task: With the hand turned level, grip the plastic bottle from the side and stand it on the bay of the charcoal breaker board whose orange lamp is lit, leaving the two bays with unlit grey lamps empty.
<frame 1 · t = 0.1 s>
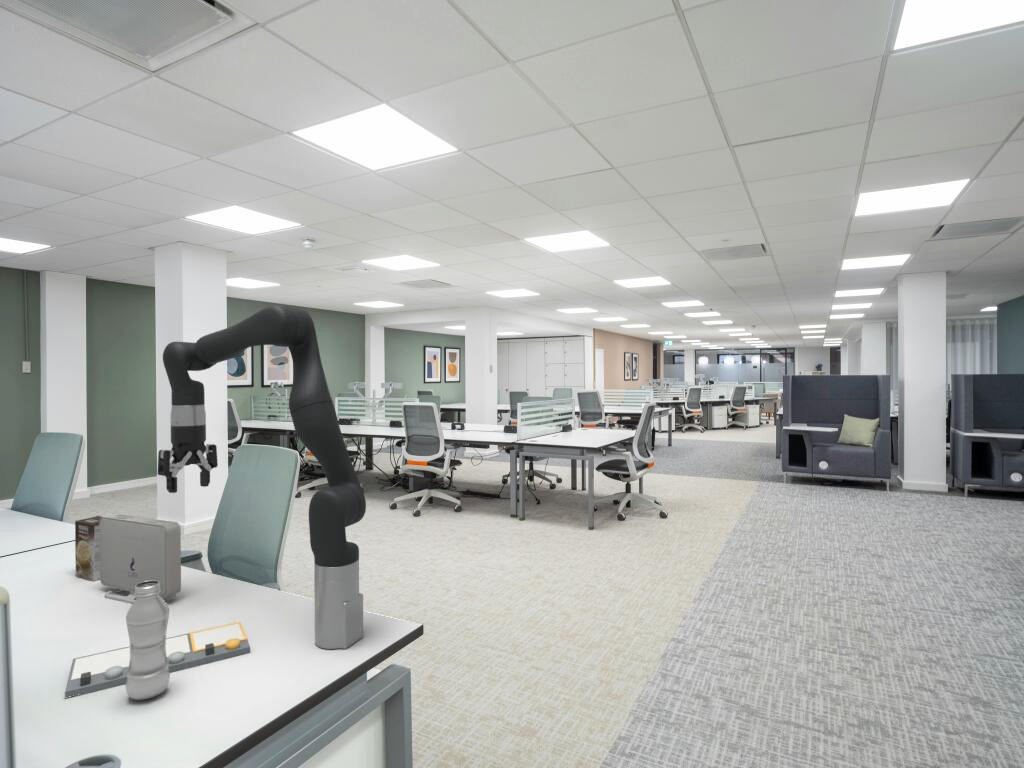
hand: (189, 489, 138), 29 cm above the table, tool pointing down, fingers open, 8 cm apart
coffee box: (96, 576, 161), on the table
network device: (140, 596, 146), on the table
plastic bottle: (148, 696, 101), on the table
breaker board: (163, 658, 113), on the table
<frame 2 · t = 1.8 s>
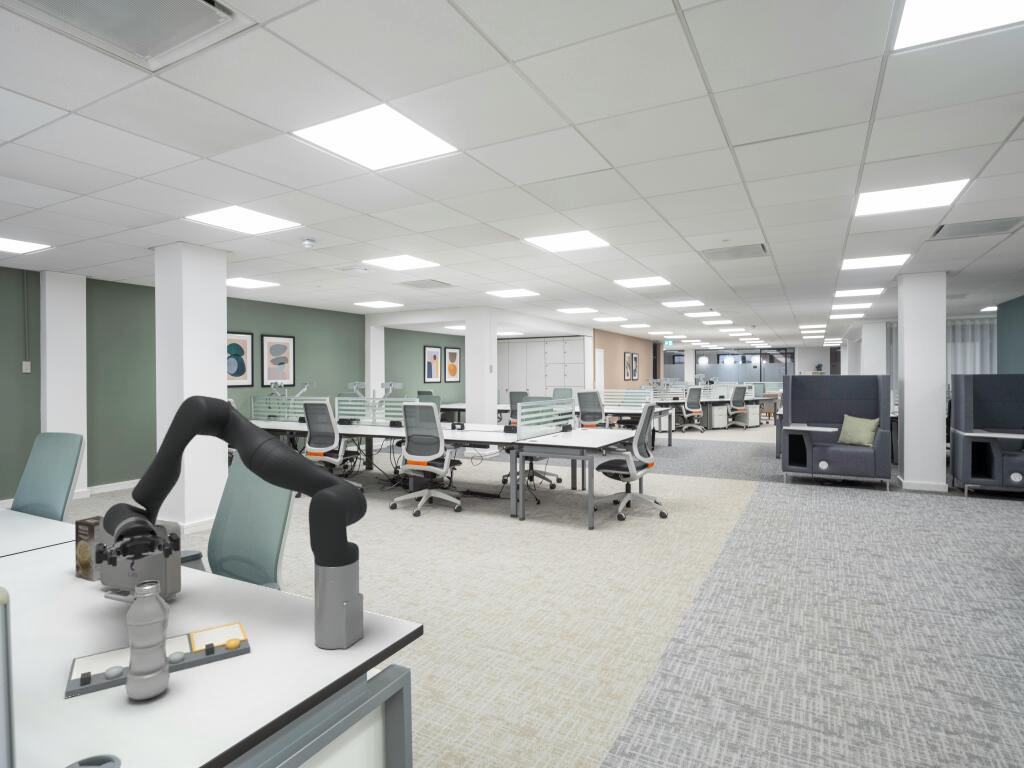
hand: (141, 556, 109), 22 cm above the table, tool horizontal, fingers open, 8 cm apart
nothing on the table moved.
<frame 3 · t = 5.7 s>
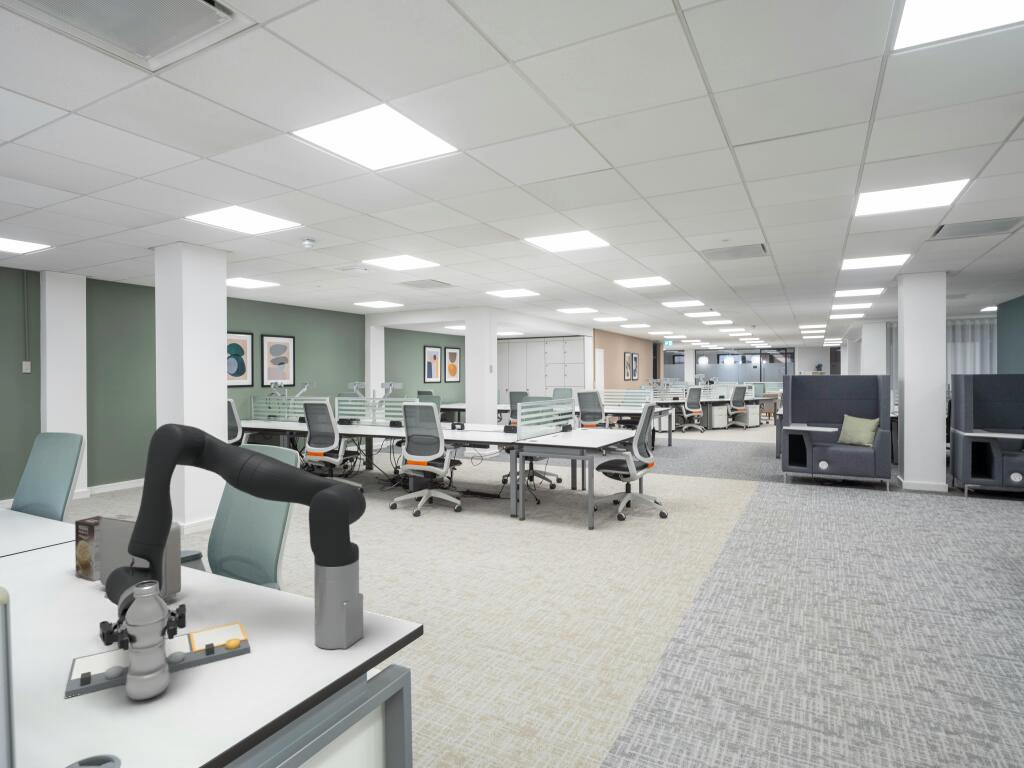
hand: (149, 638, 98), 11 cm above the table, tool horizontal, fingers closed on plastic bottle, 6 cm apart
plastic bottle: (148, 695, 101), on the table, touching gripper
everything else where it was.
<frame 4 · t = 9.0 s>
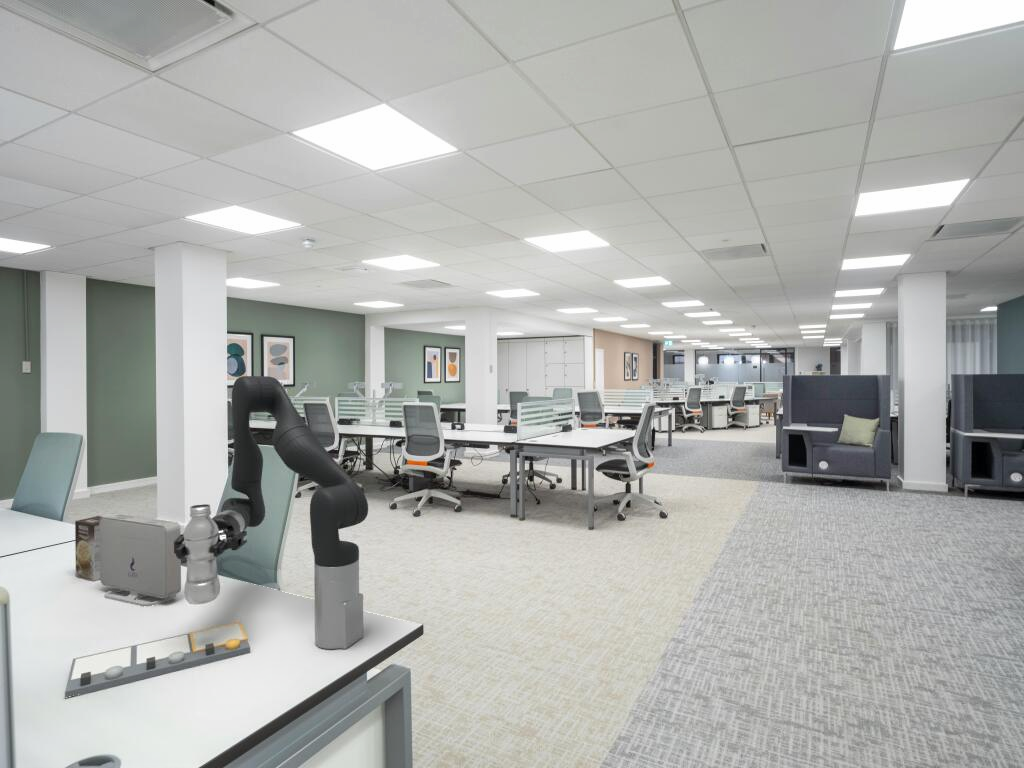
hand: (197, 553, 114), 21 cm above the table, tool horizontal, fingers closed on plastic bottle, 6 cm apart
plastic bottle: (202, 602, 117), point 10 cm above the table, touching gripper
everything else where it was.
when the fingers open (13 cm above the table, at t = 11.9 s): plastic bottle drops 1 cm, resting on breaker board.
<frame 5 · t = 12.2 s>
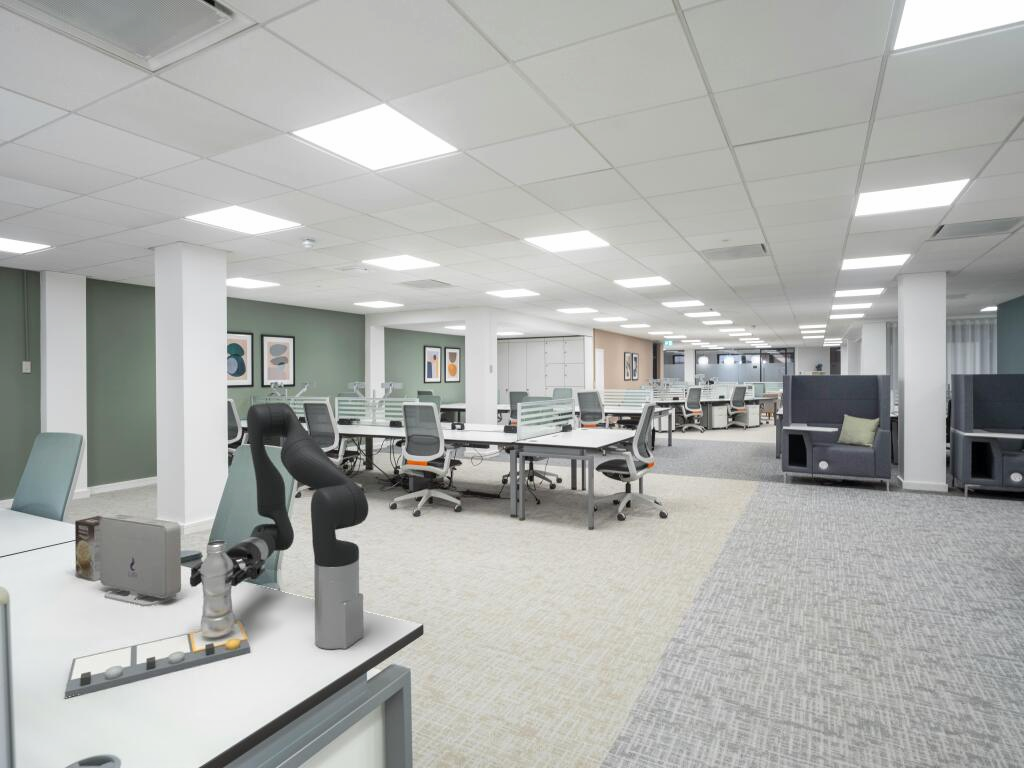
hand: (212, 581, 118), 14 cm above the table, tool horizontal, fingers open, 8 cm apart
plastic bottle: (218, 635, 121), point 1 cm above the table, touching breaker board
everything else where it was.
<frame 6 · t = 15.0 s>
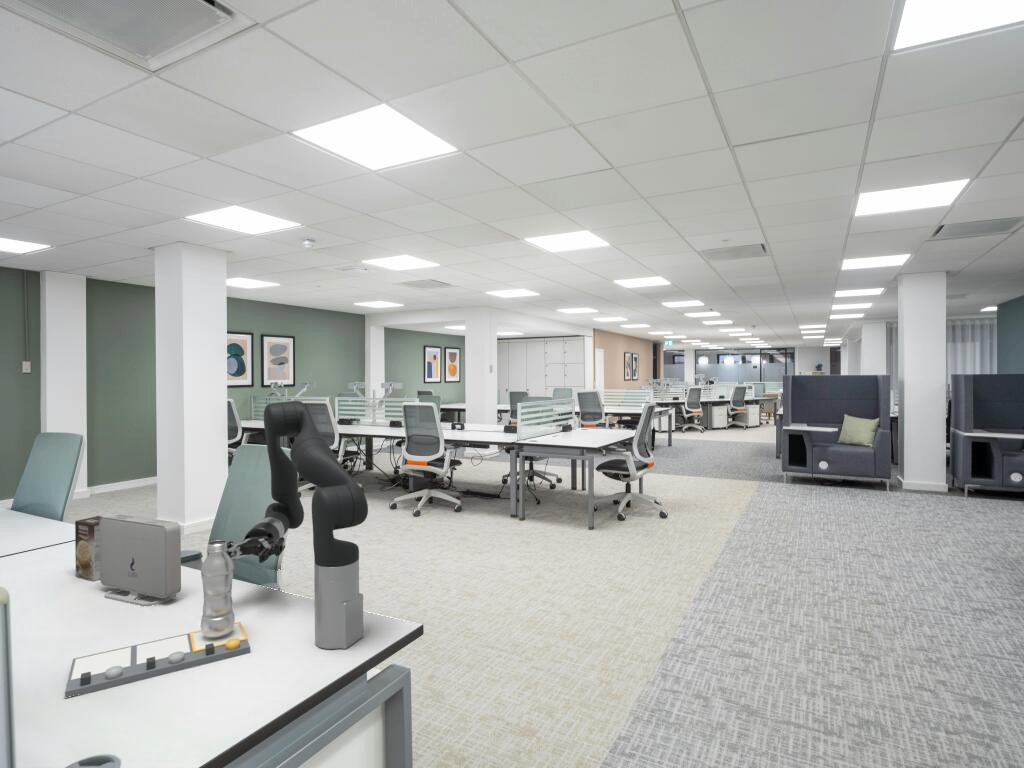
hand: (241, 560, 131), 14 cm above the table, tool horizontal, fingers open, 8 cm apart
nothing on the table moved.
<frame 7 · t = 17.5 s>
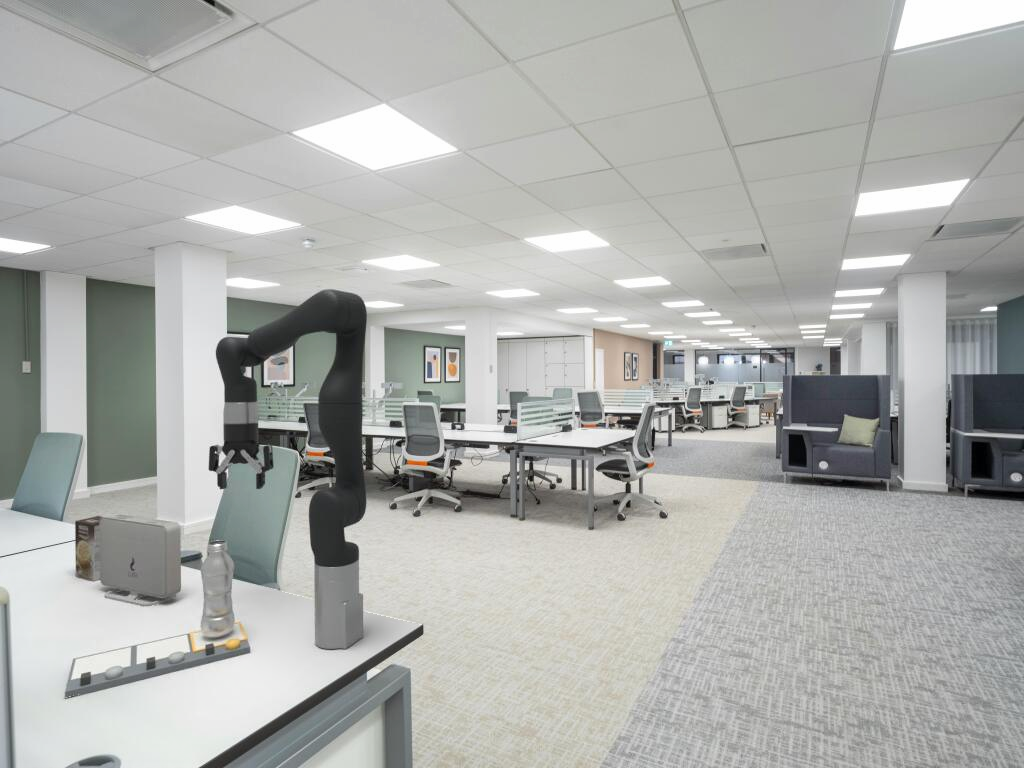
hand: (241, 488, 134), 30 cm above the table, tool pointing down, fingers open, 8 cm apart
nothing on the table moved.
at the end: plastic bottle 0.4 cm from the target spot, point 1.2 cm above the table; plastic bottle tilted 0°; the gripper is holding nothing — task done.
